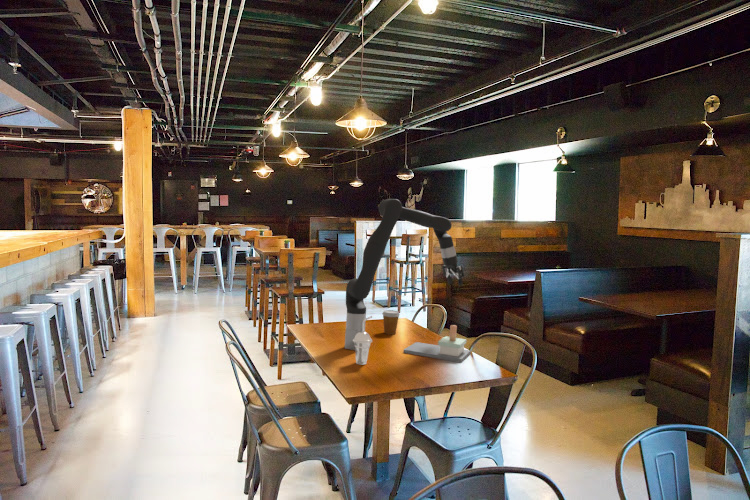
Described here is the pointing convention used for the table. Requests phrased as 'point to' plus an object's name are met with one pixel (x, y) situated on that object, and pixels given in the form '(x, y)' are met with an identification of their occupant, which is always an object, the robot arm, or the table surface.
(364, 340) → the cup with straw
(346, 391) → the table surface
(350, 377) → the table surface
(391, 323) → the disposable coffee cup
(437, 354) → the slate board
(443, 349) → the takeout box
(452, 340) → the mint lid
